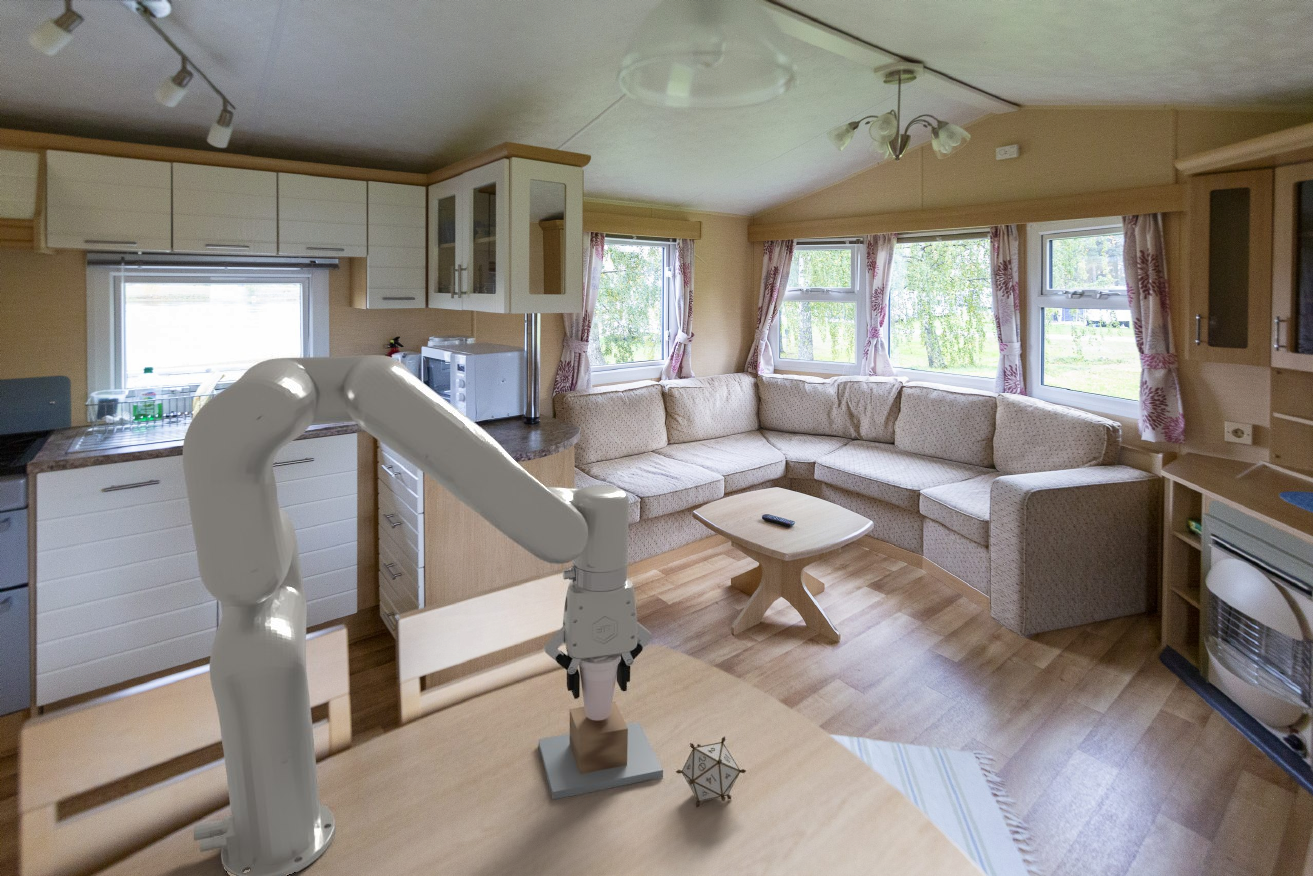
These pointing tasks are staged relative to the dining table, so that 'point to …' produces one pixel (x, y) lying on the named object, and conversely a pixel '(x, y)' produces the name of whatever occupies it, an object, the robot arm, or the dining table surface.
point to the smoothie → (598, 684)
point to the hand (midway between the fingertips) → (598, 689)
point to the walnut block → (598, 740)
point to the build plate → (571, 782)
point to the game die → (710, 771)
